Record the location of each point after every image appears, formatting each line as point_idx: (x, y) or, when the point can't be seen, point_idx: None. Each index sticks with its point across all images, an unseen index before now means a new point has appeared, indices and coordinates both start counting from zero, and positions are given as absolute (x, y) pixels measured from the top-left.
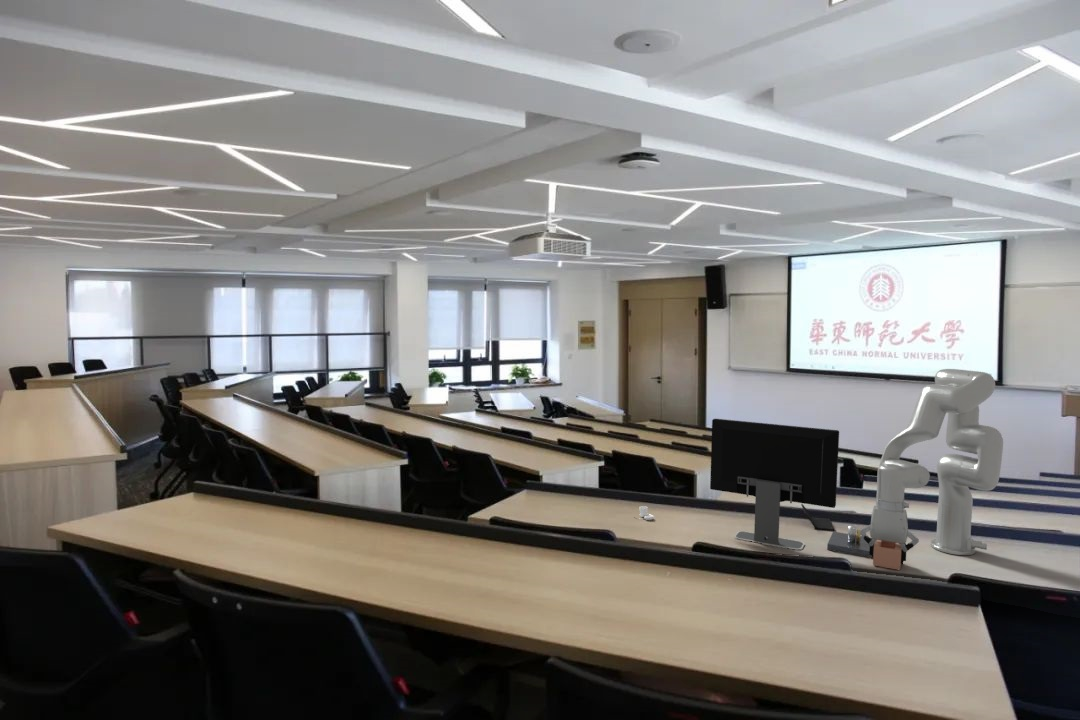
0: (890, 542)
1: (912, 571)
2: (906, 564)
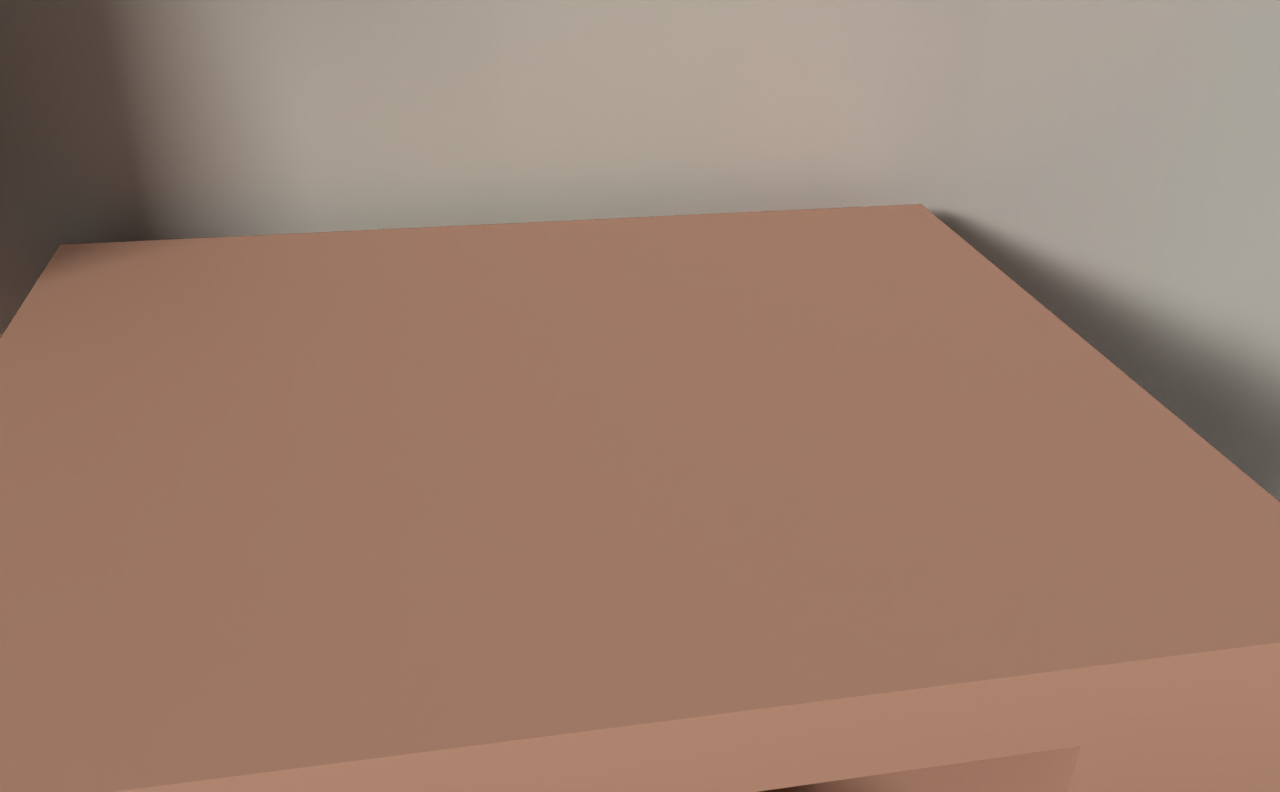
0: (761, 738)
1: None
2: (1033, 204)
